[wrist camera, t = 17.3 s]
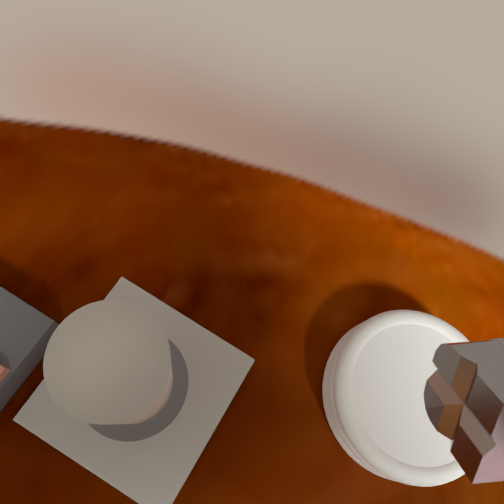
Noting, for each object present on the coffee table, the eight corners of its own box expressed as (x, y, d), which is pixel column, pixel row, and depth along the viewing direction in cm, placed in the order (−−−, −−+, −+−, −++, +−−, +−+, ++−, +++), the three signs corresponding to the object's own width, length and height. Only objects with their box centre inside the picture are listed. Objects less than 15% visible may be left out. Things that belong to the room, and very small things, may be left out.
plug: (205, 372, 28) (226, 333, 16) (150, 459, 26) (126, 490, 14) (128, 322, 28) (92, 247, 16) (68, 404, 26) (-25, 388, 14)
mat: (253, 360, 29) (255, 359, 28) (163, 517, 25) (163, 519, 25) (122, 279, 30) (121, 276, 29) (16, 420, 26) (12, 419, 25)
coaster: (360, 292, 32) (380, 277, 29) (486, 369, 31) (521, 363, 28) (291, 423, 28) (305, 423, 25) (432, 514, 28) (466, 526, 24)
